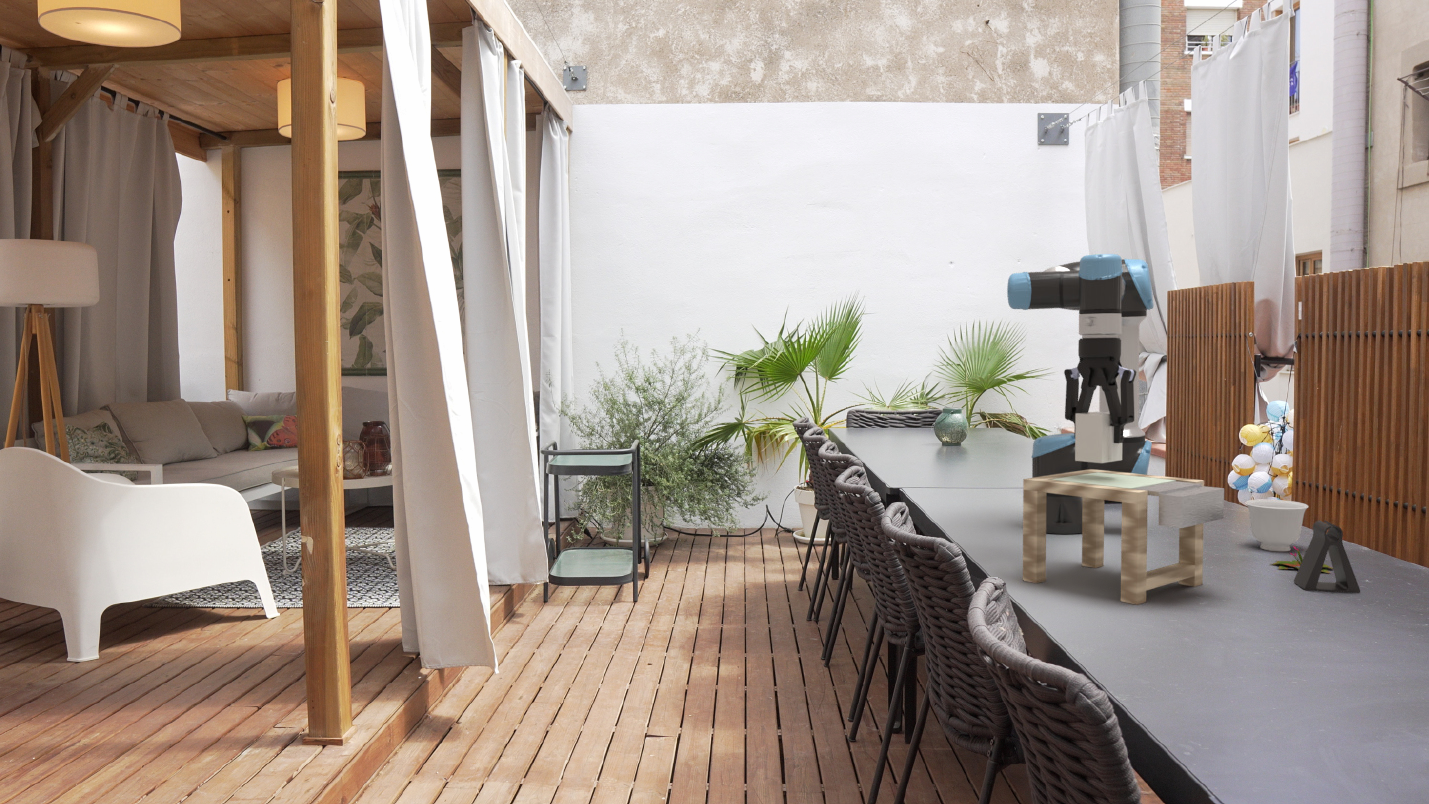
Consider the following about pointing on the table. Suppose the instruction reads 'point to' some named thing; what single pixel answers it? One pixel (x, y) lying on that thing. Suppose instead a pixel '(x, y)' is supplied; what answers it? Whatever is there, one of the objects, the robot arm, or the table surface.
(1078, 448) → the white rectangular block
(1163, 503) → the trapdoor
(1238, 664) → the table surface
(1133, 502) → the trapdoor frame
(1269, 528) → the teacup
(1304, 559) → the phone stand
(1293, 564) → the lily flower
